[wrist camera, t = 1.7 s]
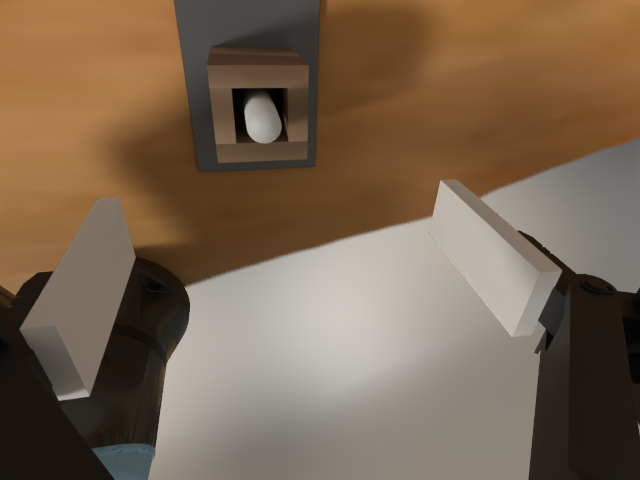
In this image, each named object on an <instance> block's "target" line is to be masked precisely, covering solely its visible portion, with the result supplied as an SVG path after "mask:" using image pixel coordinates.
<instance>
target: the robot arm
mask: <svg viewBox="0 0 640 480" xmlns="http://www.w3.org/2000/svg"><path fill="white" fill-rule="evenodd" d="M429 234H430V235H431V236H432V237H433V239H434V240H435V241H436V243H437V244H438V245H439V246H440V248H441V249H442V250H443V251H444V253H445V254H446V255H447V256H448V258H449V259H450V260H451V261H452V263H453V264H454V265H455V266H456V267H457V269H458V270H459V271H460V273H461V274H462V275H463V276H464V278H465V279H466V280H467V281H468V283H469V284H470V285H471V286H472V288H473V289H474V290H475V291H476V293H477V294H478V295H479V296H480V297H481V299H482V300H483V301H484V303H485V304H486V305H487V306H488V307H489V309H490V310H491V311H492V313H493V314H494V315H495V316H496V318H497V319H498V320H499V321H500V323H501V324H502V325H503V326H504V328H505V329H506V330H507V331H508V333H509V334H510V335H511V336H512V337H516V336H524V335H530V334H532V333H533V331H534V329H535V327H536V325H537V323H538V321H539V322H540V323H541V324H542V325H543V326H544V327H545V328H546V330H545V332H544V334H543V336H542V338H541V340H540V342H539V344H538V346H537V348H536V350H535V352H534V353H537V354H538V353H539V351H540V350H541V353H540V364H539V375H538V385H537V396H536V406H535V417H534V427H533V438H532V448H531V459H530V469H529V480H640V435H639V429H638V423H639V425H640V288H639V290H638V291H637V293H629V292H621V291H617V290H616V289H615V288H614V287H613V286H612V285H611V284H610V283H608V282H606V281H605V280H603V279H601V278H598V277H595V276H592V275H587V274H576V273H575V272H573V271H572V270H571V269H570V268H569V267H567V266H566V265H565V264H564V263H563V262H562V261H560V260H559V259H558V258H557V257H556V256H554V255H553V254H550V251H549V250H547V249H546V248H545V247H542V245H541V244H540V243H539V242H538V241H536V240H535V239H534V238H533V237H531V236H529V235H527V234H525V233H523V232H521V231H516V230H515V229H514V228H513V227H512V226H511V225H509V224H508V223H507V222H506V221H505V220H504V219H502V218H501V217H500V216H499V215H498V214H497V213H495V212H494V211H493V210H492V209H491V208H490V207H489V206H487V205H486V204H485V203H484V202H483V201H482V200H480V199H479V198H478V197H477V196H476V195H475V194H473V193H472V192H471V191H470V190H469V189H468V188H467V187H465V186H464V185H463V184H462V183H461V182H460V181H458V180H457V179H448V180H441V181H440V185H439V190H438V194H437V199H436V203H435V208H434V212H433V217H432V221H431V226H430V231H429ZM189 312H190V302H189V297H188V294H187V292H186V290H185V288H184V286H183V285H182V283H181V282H180V281H179V280H178V279H177V278H176V277H175V276H174V275H173V274H172V273H170V272H169V271H167V270H166V269H164V268H163V267H161V266H159V265H157V264H155V263H152V262H150V261H147V260H143V259H140V258H136V256H135V253H134V249H133V245H132V242H131V238H130V235H129V231H128V228H127V224H126V220H125V217H124V213H123V210H122V206H121V203H120V199H119V198H108V199H97V200H96V202H95V204H94V205H93V207H92V209H91V210H90V212H89V214H88V215H87V217H86V219H85V220H84V222H83V224H82V225H81V227H80V229H79V230H78V232H77V234H76V235H75V237H74V239H73V240H72V242H71V244H70V245H69V247H68V249H67V250H66V252H65V254H64V255H63V257H62V259H61V260H60V262H59V264H58V266H57V267H56V269H55V271H51V272H39V273H37V274H36V275H34V276H33V277H32V278H30V279H29V280H28V281H27V282H25V283H24V284H23V285H22V287H21V288H20V290H19V291H18V293H17V294H16V296H15V295H14V294H12V293H11V292H9V291H8V290H7V289H5V288H4V287H2V286H1V285H0V480H148V475H149V471H150V467H151V463H152V460H153V459H154V456H155V446H156V439H157V431H158V424H159V415H160V408H161V401H162V393H163V385H164V378H165V371H166V364H167V362H168V360H169V358H170V357H171V355H172V353H173V352H174V350H175V348H176V347H177V345H178V344H179V342H180V340H181V338H182V337H183V335H184V333H185V331H186V328H187V325H188V321H189Z"/></svg>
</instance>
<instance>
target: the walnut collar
mask: <svg viewBox="0 0 640 480" xmlns="http://www.w3.org/2000/svg"><path fill="white" fill-rule="evenodd" d="M207 72H208V81H209V89H210V98H211V106H212V115H213V123H214V132H215V140H216V149H217V158H218V163H230V162H253V161H276V160H299V159H307V142H308V80H309V65H308V64H307V63H306V62H305V61H304V60H303V59H302V58H301V57H300V56H299V55H298V54H297V53H296V52H295V51H294V50H293V49H292V48H263V47H211V48H210V53H209V57H208V62H207ZM232 88H276V110H277V113H278V115H279V118H280V121H281V126H282V127H281V132H280V135H279V136H278V137H277V139H275V140H274V141H272V142H270V143H258V142H256V141H254V140H253V139H252V138H251V137H250V136H249V134H248V132H247V127H246V120H245V113H244V111H234V104H233V93H232Z"/></svg>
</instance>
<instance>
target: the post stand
mask: <svg viewBox="0 0 640 480" xmlns="http://www.w3.org/2000/svg"><path fill="white" fill-rule="evenodd" d="M174 5H175V12H176V19H177V26H178V32H179V39H180V46H181V53H182V60H183V66H184V73H185V80H186V87H187V93H188V100H189V107H190V114H191V121H192V127H193V134H194V141H195V148H196V154H197V161H198V168H199V172H216V171H237V170H258V169H279V168H300V167H315V154H316V119H317V83H318V48H319V12H320V0H174ZM211 47H263V48H292V49H293V50H294V51H295V52H296V53H297V54H298V55H299V56H300V57H301V58H302V59H303V60H304V61H305V62H306V63H307V64H308V65H309V80H308V142H307V159H299V160H276V161H253V162H230V163H218V158H217V149H216V140H215V132H214V123H213V115H212V106H211V98H210V89H209V81H208V72H207V62H208V57H209V53H210V48H211ZM232 93H233V104H234V111H244V113H245V120H246V127H247V132H248V134H249V136H250V137H251V138H252V139H253V140H254V141H256V142H258V143H270V142H272V141H274V140H275V139H277V137H278V136H279V135H280V132H281V127H282V126H281V121H280V118H279V115H278V113H277V110H276V88H232Z"/></svg>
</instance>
